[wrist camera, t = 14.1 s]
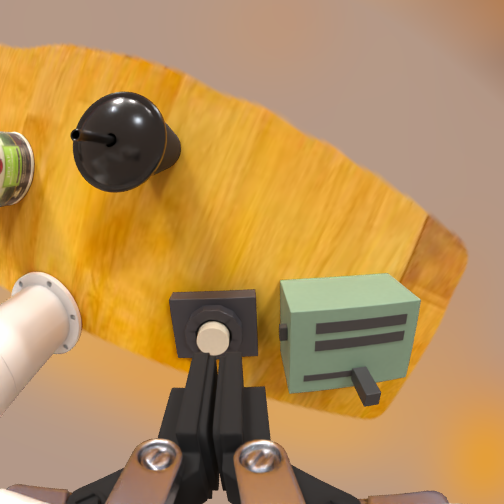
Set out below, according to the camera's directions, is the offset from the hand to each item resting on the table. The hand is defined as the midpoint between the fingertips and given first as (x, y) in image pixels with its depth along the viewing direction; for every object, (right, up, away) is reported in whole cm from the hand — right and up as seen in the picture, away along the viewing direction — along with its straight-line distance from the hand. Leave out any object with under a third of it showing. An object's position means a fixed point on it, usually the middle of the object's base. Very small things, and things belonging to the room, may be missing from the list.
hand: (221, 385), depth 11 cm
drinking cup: (-9, +16, +24) cm, 30 cm away
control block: (-3, -4, +29) cm, 29 cm away
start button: (-3, -5, +26) cm, 26 cm away
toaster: (+12, -3, +29) cm, 32 cm away
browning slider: (+13, -8, +21) cm, 26 cm away
